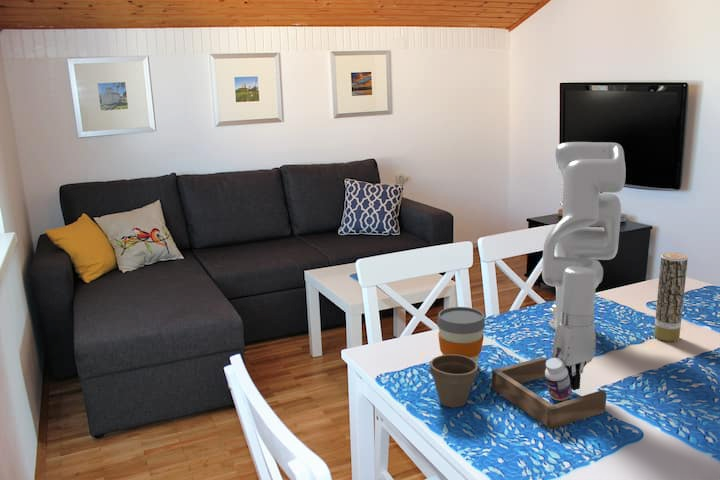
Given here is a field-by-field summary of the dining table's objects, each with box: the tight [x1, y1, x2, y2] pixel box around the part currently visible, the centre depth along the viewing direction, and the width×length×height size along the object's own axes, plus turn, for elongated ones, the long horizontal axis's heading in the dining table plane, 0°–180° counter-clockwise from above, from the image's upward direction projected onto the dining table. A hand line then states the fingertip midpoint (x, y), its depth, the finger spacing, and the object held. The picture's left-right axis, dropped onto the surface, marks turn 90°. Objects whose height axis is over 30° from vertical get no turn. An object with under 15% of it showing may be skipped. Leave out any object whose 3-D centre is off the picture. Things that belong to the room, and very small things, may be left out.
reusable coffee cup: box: [436, 306, 486, 365], centre depth 177 cm, size 12×12×15 cm
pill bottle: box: [544, 357, 573, 402], centre depth 159 cm, size 5×5×10 cm
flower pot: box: [429, 354, 479, 408], centre depth 159 cm, size 12×11×10 cm
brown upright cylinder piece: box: [653, 252, 689, 343], centre depth 190 cm, size 7×7×25 cm
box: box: [491, 356, 608, 430], centre depth 159 cm, size 22×16×5 cm
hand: (572, 387), depth 162 cm, fingers closed
